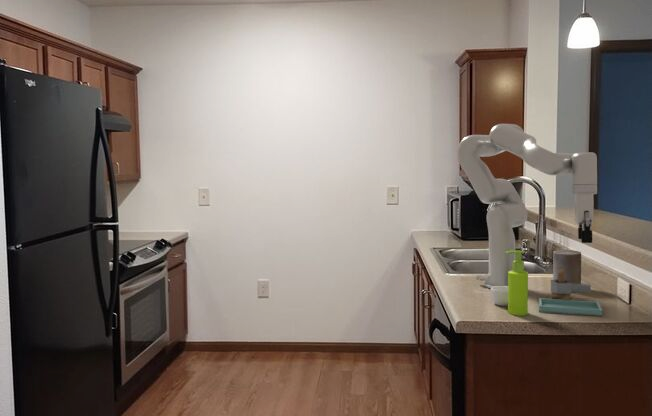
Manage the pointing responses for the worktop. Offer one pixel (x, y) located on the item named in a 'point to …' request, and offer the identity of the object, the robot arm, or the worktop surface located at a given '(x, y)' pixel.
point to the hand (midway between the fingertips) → (585, 240)
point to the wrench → (569, 287)
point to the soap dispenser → (517, 286)
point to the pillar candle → (567, 264)
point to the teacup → (500, 295)
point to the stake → (561, 280)
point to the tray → (570, 307)
